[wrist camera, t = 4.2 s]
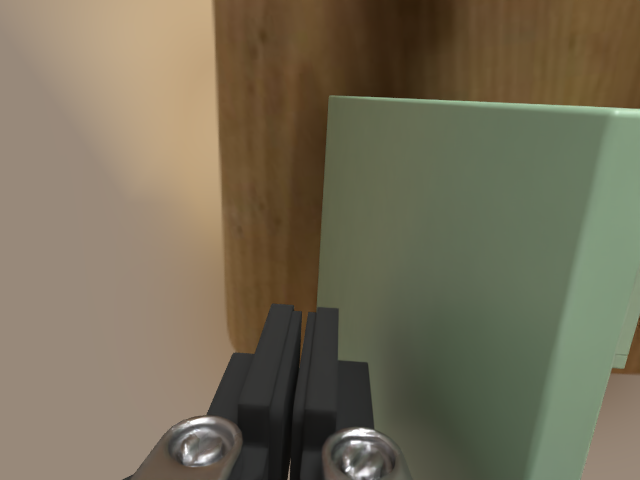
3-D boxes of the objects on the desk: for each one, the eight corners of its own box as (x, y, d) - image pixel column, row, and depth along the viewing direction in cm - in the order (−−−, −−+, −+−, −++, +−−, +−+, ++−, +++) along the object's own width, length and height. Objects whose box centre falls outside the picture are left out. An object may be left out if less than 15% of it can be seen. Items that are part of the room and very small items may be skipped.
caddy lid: (689, 111, 4) (614, 107, 4) (481, 846, 8) (438, 855, 8) (346, 96, 20) (328, 95, 20) (329, 353, 24) (313, 353, 24)
